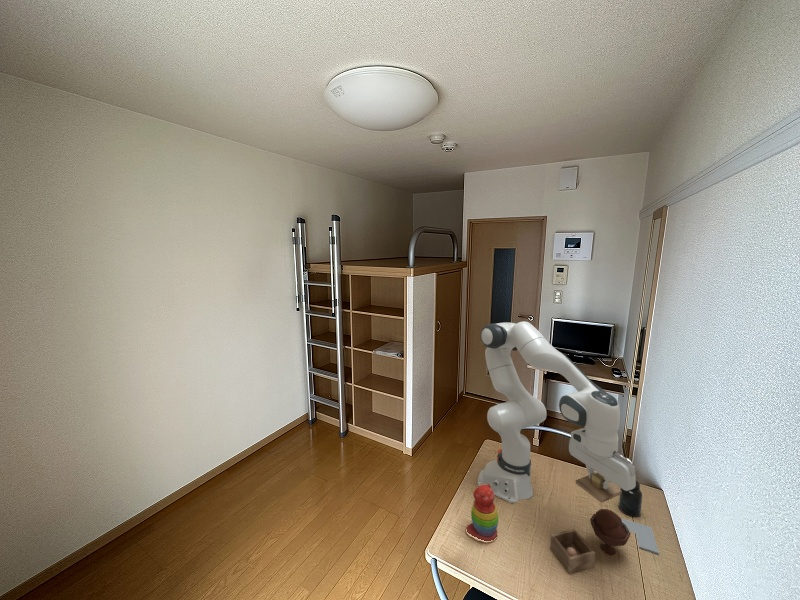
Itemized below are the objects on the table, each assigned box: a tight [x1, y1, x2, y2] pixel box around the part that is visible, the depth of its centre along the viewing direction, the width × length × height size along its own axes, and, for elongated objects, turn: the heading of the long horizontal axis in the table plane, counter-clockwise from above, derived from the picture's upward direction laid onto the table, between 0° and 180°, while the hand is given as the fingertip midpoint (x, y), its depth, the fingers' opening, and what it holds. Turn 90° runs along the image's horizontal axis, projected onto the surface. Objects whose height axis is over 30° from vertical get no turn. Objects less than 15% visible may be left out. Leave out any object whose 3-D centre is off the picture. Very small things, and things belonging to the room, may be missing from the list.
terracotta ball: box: [566, 547, 577, 556], centre depth 103 cm, size 3×3×3 cm
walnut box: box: [549, 528, 596, 575], centre depth 103 cm, size 9×9×6 cm
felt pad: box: [620, 517, 660, 555], centre depth 111 cm, size 11×11×1 cm
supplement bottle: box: [618, 480, 643, 518], centre depth 121 cm, size 7×7×12 cm
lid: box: [575, 472, 622, 503], centre depth 102 cm, size 9×9×4 cm
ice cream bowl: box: [589, 508, 631, 557], centre depth 104 cm, size 11×11×15 cm
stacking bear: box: [465, 484, 499, 541], centre depth 113 cm, size 11×10×18 cm
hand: (598, 483), depth 102 cm, fingers closed on lid, 3 cm apart
